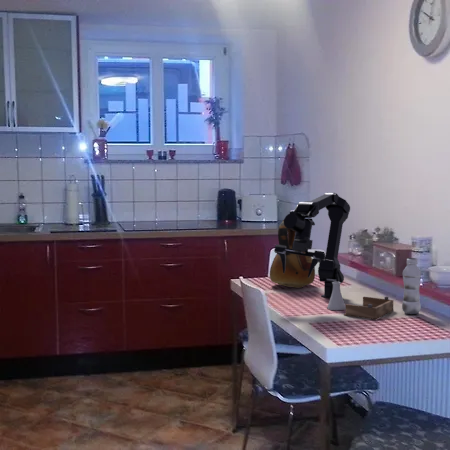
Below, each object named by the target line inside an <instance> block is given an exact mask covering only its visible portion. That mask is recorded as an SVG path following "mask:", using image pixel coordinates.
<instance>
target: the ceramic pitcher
mask: <svg viewBox="0 0 450 450" xmlns="http://www.w3.org/2000/svg"><path fill="white" fill-rule="evenodd" d="M277 229H278V230H277V237H278V239H277V240H278V245H284V246H286V247H287V248H289V249H293V248H292V246H293V241H294V239H295V233H296V232H295V231H293V230H291V229H288V228H286V227H285V226H284V219H282V222H281V223H280V224H279V226H278V228H277ZM303 253H305V252H303ZM285 255H286V266H285V273H283V267H282V261H281V257H280V256H278V254H277V253H275V256H274V258H273V261H272V263H271V266H270V267H269V279H270V281H271V282H272V283H274V284H277V285H279V286H283V287H288V288H289V287H290V288H297V289H300V288H303V287H305V286H308V285H311V284H313V283H314V282H315V278H316V268H315V267H316V266H315V267H314V269H313V271H312V273H311V275H310V277H309V278H308V273H309V270H310V266H311V263H312V259H313V257H309V256H302V255H296V254H290V253H286V254H285Z"/></svg>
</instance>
